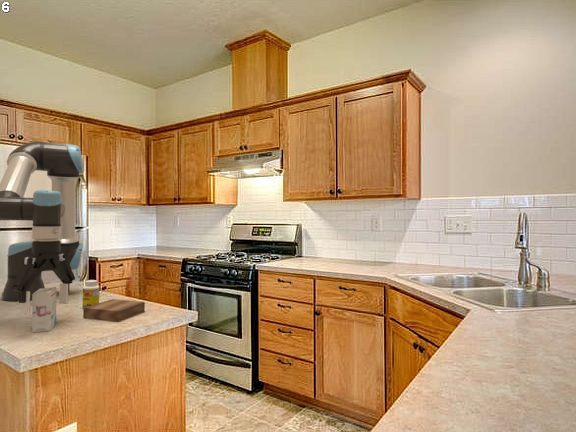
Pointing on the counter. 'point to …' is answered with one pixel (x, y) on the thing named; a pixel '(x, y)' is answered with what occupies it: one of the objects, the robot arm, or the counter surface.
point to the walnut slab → (113, 310)
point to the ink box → (44, 309)
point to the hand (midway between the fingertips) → (45, 308)
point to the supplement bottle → (90, 293)
